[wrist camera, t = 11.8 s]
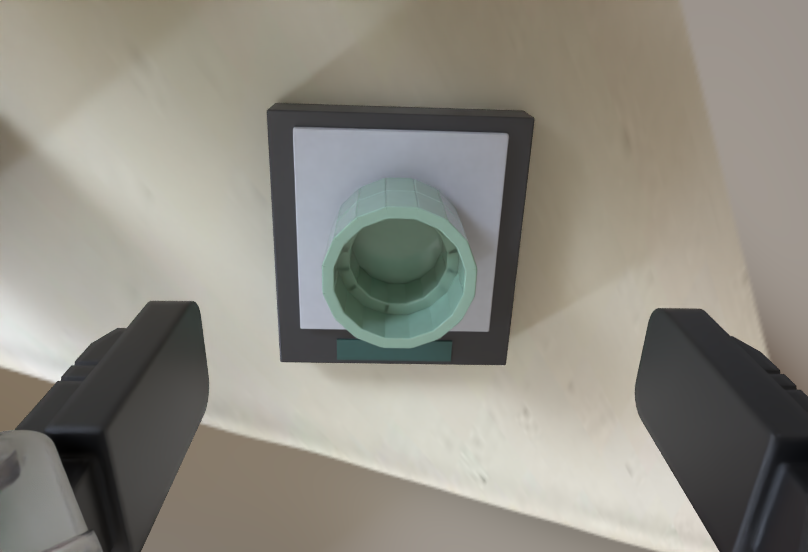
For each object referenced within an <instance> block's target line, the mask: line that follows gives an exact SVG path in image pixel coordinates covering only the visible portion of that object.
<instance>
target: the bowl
mask: <svg viewBox="0 0 808 552" xmlns="http://www.w3.org/2000/svg"><path fill="white" fill-rule="evenodd" d="M476 281H477V265H476V262H475V259H474V256H473V254H472V251H471V248H470V245H469V242H468V240H467V237H466V234H465V231H464V229H463V226H462V223H461V220H460V218H459V215H458V212H457V209H456V208H455V206H454V205H453V204H452V203H451V202H450V201H449V200H448V199H447V198H446V197H445V196H444V195H443V194H442V193H441V192H440V191H439V190H437V189H436V188H434V187H432V186H430V185H427V184H425V183H423V182H421V181H418V180H416V179H413V178H392V177H387V178H383V179H380V180H378V181H375V182H372V183H370V184H367V185H364V186H362V187H361V188H359V189H357V190H356V191H355V192H354V193H353V194H352V195H351V196H350V197H349V198H348V199H347V200H346V201H345V202H344V203H343V204H342V205H341V206H340V208H339V210H338V213H337V215H336V217H335V220H334V222H333V224H332V227H331V230H330V234H329V238H328V242H327V246H326V250H325V254H324V258H323V262H322V292H323V296H324V298H325V300H326V302H327V304H328V306H329V309H330V311H331V313H332V315H333V317H334V318H335V320H336V321H338V322H339V323H340V324H341V325H342V326H343V327H344V328H345V329H347V330H348V331H349V332H350V333H351V334H352V335H353V336H354V337H356V338H358V339H360V340H363V341H366V342H368V343H371V344H373V345H376V346H379V347H381V348H382V347H383V348H414V347H417V346H420V345H423V344H426V343H429V342H432V341H435V340H438V339H440V338H441V337H442V336H444V335H445V334H446V333H447V332H448V331H450V330H451V329H452V328H453V327H455V326H456V325H457V324H458V323H460V322H461V320H462V319H463V317H464V316H465V314H466V312H467V310H468V308H469V306H470V305H471V303H472V301H473V299H474V297H475V292H476Z"/></svg>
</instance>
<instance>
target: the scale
mask: <svg viewBox="0 0 808 552" xmlns="http://www.w3.org/2000/svg"><path fill="white" fill-rule="evenodd" d="M267 125H268V143H269V162H270V180H271V199H272V217H273V236H274V254H275V273H276V291H277V310H278V328H279V347H280V361H281V362H311V363H383V364H456V365H506V359H507V351H508V342H509V334H510V325H511V316H512V308H513V299H514V291H515V282H516V274H517V265H518V256H519V248H520V239H521V231H522V222H523V214H524V205H525V197H526V188H527V179H528V171H529V162H530V154H531V145H532V137H533V128H534V118H533V117H532V116H531V115H529V114H528V113H526V112H525V111H516V110H484V109H451V108H419V107H386V106H354V105H322V104H289V103H275V104H274V105H273V106H271V107H270V108H269V109H268V110H267ZM387 177H392V178H413V179H416V180H418V181H421V182H423V183H425V184H427V185H430V186H432V187H434V188H436V189H437V190H439V191H440V192H441V193H442V194H443V195H444V196H445V197H446V198H447V199H448V200H449V201H450V202H451V203H452V204H453V205H454V206H455V208H456V209H457V212H458V215H459V218H460V220H461V223H462V226H463V229H464V231H465V234H466V237H467V240H468V242H469V245H470V248H471V251H472V254H473V256H474V259H475V262H476V265H477V281H476V292H475V297H474V299H473V301H472V303H471V305H470V306H469V308H468V310H467V312H466V314H465V316H464V317H463V319H462V320H461V322H460V323H458V324H457V325H456V326H455V327H453V328H452V329H451V330H450V331H448V332H447V333H446V334H445V335H444V336H442V337H441V338H440V339H438V340H435V341H432V342H429V343H426V344H423V345H420V346H417V347H414V348H383V347H382V348H381V347H379V346H376V345H373V344H371V343H368V342H366V341H363V340H360V339H358V338H356V337H354V336H353V335H352V334H351V333H350V332H349V331H348V330H347V329H345V328H344V327H343V326H342V325H341V324H340V323H339V322H338V321H336V320H335V318H334V317H333V315H332V313H331V311H330V309H329V306H328V304H327V302H326V300H325V298H324V296H323V292H322V262H323V258H324V254H325V250H326V246H327V242H328V238H329V234H330V230H331V227H332V224H333V222H334V220H335V217H336V215H337V213H338V210H339V208H340V206H341V205H342V204H343V203H344V202H345V201H346V200H347V199H348V198H349V197H350V196H351V195H352V194H353V193H354V192H355V191H356V190H357V189H359V188H361V187H362V186H364V185H367V184H370V183H372V182H375V181H378V180H380V179H383V178H387Z"/></svg>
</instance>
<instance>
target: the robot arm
mask: <svg viewBox="0 0 808 552" xmlns="http://www.w3.org/2000/svg"><path fill="white" fill-rule="evenodd" d="M208 395H209V375H208V368H207V360H206V352H205V344H204V337H203V329H202V321H201V314H200V310H199V307H198V305H197V303H196V302H194V301H150V302H148V303H147V304H146V305H145V307H144V308H143V309H142V310H141V311H140V313H139V314H138V315H137V316H136V317H135V319H134V320H133V321H132V322H131V324H130V325H129V326H128V327H127V328H117V329H115V330H113V331H111V332H110V333H108V334H106V335H105V336H103V337H101V338H100V339H98V340H96V341H94V342H93V343H91V344H90V345H89V346H88V348H87V349H86V350H85V351H84V352H83V353H82V354H81V355H80V357H79V358H78V359H77V360H76V361H75V365H72V366H71V367H70V368H69V369H68V370H67V371H66V372H65V373H64V375H63V376H62V377H61V381H57V382H56V384H55V385H54V386H53V387H52V388H51V389H50V390H49V391H48V393H47V394H46V395H45V396H44V397H43V398H42V399H41V400H40V402H39V403H38V404H37V405H36V406H35V407H34V408H33V410H32V411H31V412H30V413H29V414H28V415H27V416H26V417H25V418H24V420H23V421H22V422H21V423H20V424H19V425H18V426H17V428H16V429H15V430H11V431H3V432H0V552H141V550H142V548H143V546H144V544H145V541H146V539H147V537H148V535H149V533H150V531H151V528H152V526H153V524H154V522H155V519H156V517H157V515H158V513H159V511H160V509H161V507H162V504H163V502H164V500H165V498H166V496H167V494H168V491H169V489H170V487H171V485H172V483H173V481H174V478H175V476H176V474H177V472H178V470H179V467H180V465H181V463H182V461H183V459H184V457H185V454H186V452H187V450H188V448H189V446H190V444H191V442H192V439H193V437H194V435H195V433H196V431H197V429H198V426H199V424H200V422H201V420H202V418H203V415H204V413H205V410H206V407H207V402H208ZM635 401H636V407H637V411H638V414H639V417H640V418H641V420H642V422H643V424H644V425H645V427H646V429H647V430H648V432H649V434H650V435H651V437H652V439H653V441H654V442H655V444H656V446H657V447H658V449H659V451H660V452H661V454H662V456H663V457H664V459H665V461H666V462H667V464H668V466H669V467H670V469H671V471H672V472H673V474H674V476H675V477H676V479H677V481H678V482H679V484H680V486H681V488H682V489H683V491H684V493H685V494H686V496H687V498H688V499H689V501H690V503H691V504H692V506H693V508H694V509H695V511H696V513H697V514H698V516H699V518H700V519H701V521H702V523H703V524H704V526H705V528H706V530H707V531H708V533H709V535H710V536H711V538H712V540H713V541H714V543H715V545H716V546H717V548H718V550H719V551H720V552H808V396H807V395H806V394H804V393H803V392H802V391H801V390H797V389H796V385H795V384H794V383H793V382H792V381H791V380H790V379H789V378H788V377H787V376H786V375H784V374H780V370H779V369H778V368H777V367H776V366H775V365H774V364H773V363H772V362H771V361H770V360H769V359H768V358H767V357H766V356H765V355H763V354H762V353H761V352H760V351H758V350H756V349H754V348H753V347H751V346H749V345H747V344H745V343H744V342H742V341H740V340H738V339H737V338H735V337H733V336H730V335H729V334H728V333H727V332H726V331H725V330H723V329H722V328H721V327H720V326H719V325H718V324H717V323H716V322H715V321H714V320H713V319H712V318H711V317H710V316H709V315H708V314H707V313H706V312H705V311H704V310H702V309H680V308H658V309H656V310H654V311H653V313H652V314H651V316H650V319H649V322H648V327H647V331H646V336H645V341H644V346H643V350H642V355H641V360H640V364H639V369H638V374H637V379H636V384H635Z"/></svg>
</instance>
